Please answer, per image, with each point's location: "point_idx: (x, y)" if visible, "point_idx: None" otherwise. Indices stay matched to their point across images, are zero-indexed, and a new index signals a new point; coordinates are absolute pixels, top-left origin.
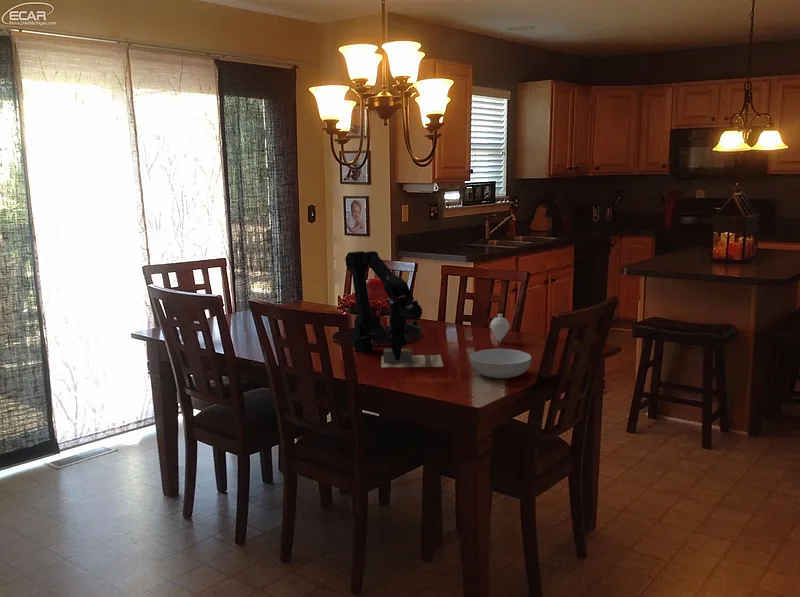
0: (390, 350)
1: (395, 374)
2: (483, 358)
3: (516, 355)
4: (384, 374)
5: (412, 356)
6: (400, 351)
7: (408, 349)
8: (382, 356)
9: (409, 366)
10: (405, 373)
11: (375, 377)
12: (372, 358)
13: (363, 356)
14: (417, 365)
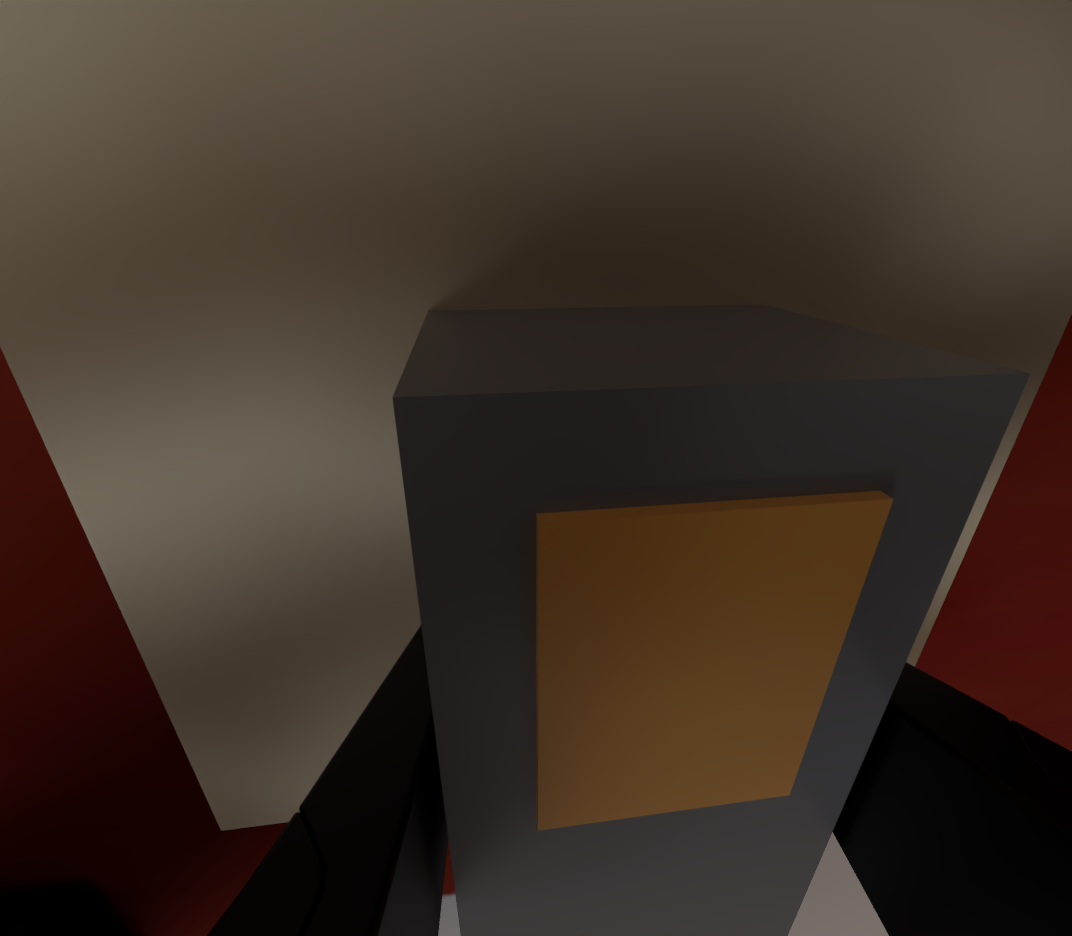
0: (651, 912)
1: (1034, 536)
2: None
3: None
4: (972, 650)
5: (124, 269)
6: (1042, 751)
7: (664, 523)
8: (277, 810)
9: (1019, 359)
10: (1059, 406)
11: (1034, 710)
12: (209, 851)
13: (131, 933)
14: (1031, 163)
